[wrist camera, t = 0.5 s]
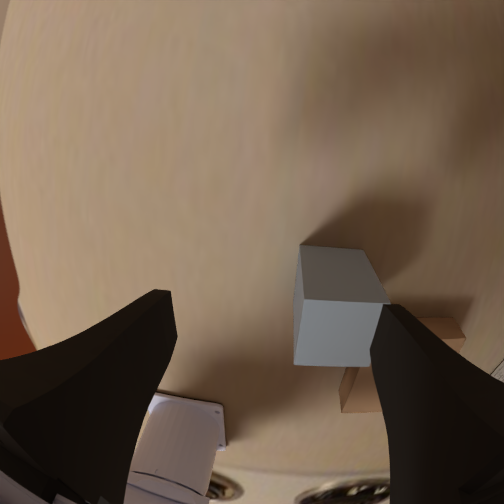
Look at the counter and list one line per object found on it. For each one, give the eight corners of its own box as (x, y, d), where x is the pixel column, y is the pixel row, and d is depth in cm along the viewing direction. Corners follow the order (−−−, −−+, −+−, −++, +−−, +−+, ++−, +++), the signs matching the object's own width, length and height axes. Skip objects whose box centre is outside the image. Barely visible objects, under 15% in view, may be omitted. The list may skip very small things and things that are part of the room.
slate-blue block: (351, 303, 19) (369, 366, 14) (293, 300, 20) (293, 364, 14) (362, 249, 18) (390, 303, 12) (299, 244, 18) (304, 299, 13)
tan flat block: (418, 383, 23) (426, 407, 20) (338, 386, 23) (341, 413, 21) (451, 314, 19) (466, 337, 17) (361, 313, 20) (369, 340, 17)
